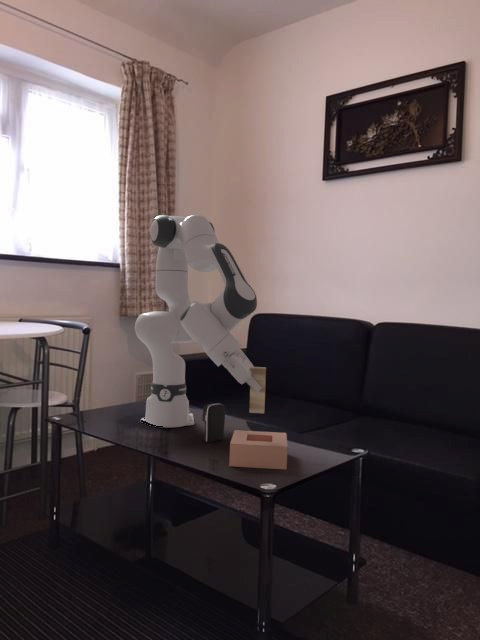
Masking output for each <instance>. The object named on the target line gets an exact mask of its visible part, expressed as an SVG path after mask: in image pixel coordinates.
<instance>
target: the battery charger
mask: <svg viewBox="0 0 480 640" xmlns="http://www.w3.org/2000/svg"><path fill="white" fill-rule="evenodd" d="M201 417H202V418H201V419H202V420H201V421H203V422H204V436H203V441H204V442H206V443H211V442H212V443H213V442H217V441H221V440H224V439H225V422H226V420H225V419H226V407H225V405H224V404H223V403H217V402H214V403H213V402H212V403H208V404H205V405H204V406H203V408H202V415H201Z"/></svg>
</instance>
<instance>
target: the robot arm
mask: <svg viewBox="0 0 480 640" xmlns="http://www.w3.org/2000/svg"><path fill="white" fill-rule="evenodd" d="M149 238H150V240H151V242H152V243H153V245H154V246H156V247H158V249H157V253H156V255H157V256H156V260H155V261H156V262H155V289H154V290H155V294H156V295H157V296H158V298H160V299H161V300H163V301H164V302H165V303H166V304H167V307H168V311H163V310H162V311H158V310H157V311H155V310H154V311H148V312H143V313H141V314H139V315H138V317H137V318H136V321H135V324H134V332H135V335H136V337H137V339H139V341H141V342H142V344H144V345H145V347H146V348H147V349H148V351H149V353H150V356H151V360H152V382H151V386H150V393H151V394H150V396H148V397H147V399H146V401H145V402H146V404H145V417H142V418H140V421H141V420H143V421H146V422H148V423H150V424H153V425H156V426H163V427H162V428H180V427H184V426H194V425H195V419H194V414H193V413H192V412H191V411H192V410H191V409H190V405H189V404H190V403H189V402H190V400H189V399H188V396H187V395H186V394H187V385H186V361H185V360H184V358H183V357H182V356H181V355H179V354H177V353H175V351H174V348H173V344H187V343H188V344H189V343H192V342H194V343H196V344H197V345H199V346H200V347H201V348H202V349H203V351H204V352H205V354H206V356H208V357H209V359H210V360H211V361H212V362H213V363H214V364H215V365H216V366H217V367H220V366H221V365H222V366H223V367H224V368H225V369H226V370H227V371H228V373H230V375H231V376H232V377H233V378H234V379H235V380H236V381H237V382H238V383H239V384H241V385H243V384H245V383H246V384H247V385H248V386H249V387H250V386H251V387H252V388H253V389H254V390H255V391H256V392H259V391H260V390H261V388H262V387H261V385H260V384H259V383H257V381H256V380H255V379H254V378H253V377H252V376H251V375H252V371H251V367H255V366H254V364H253V363H252V361H250V359H249V358H248V357H247V355H246V354H245V352H243V350H242V349H241V346H242V344H241V342H239V340H238V339H237V338H236V337H235V336H234V335H233V334H232V333H231V332H232V331H233V330H234V329H235V328H236V327H238V325H240V324H241V322H242V321H244V320H245V319H246V318H247V317H249V316H250V315H251V314H252V313H254V312H255V311H256V310H257V307H258V298H257V294H256V292H255V290H254V289H253V287H252V286H251V285H250V284H249V283H248V282H247V281H248V280H246V278H245V275H244V274H243V272H242V271H241V270H242V269H241V268H240V267H239V265H238V263H237V261H236V259H235V257H234V255H233V254H232V252H231V251H230V249H229V248H228V247H227V246H226V245H225V244H222V243H219V239H218V237H217V235H216V231H215V227H214V225H213V224H212V222H211V221H209V220H208V219H207V217H206V216H204V215H201V214H192V215H189V216H187V215H186V216H185V215H182V216H179V215H167V214H161V215H157V216H155V218H153V219H152V221H151V224H150V227H149ZM189 266H190V268H191V269H193V270H194V271H197V272H200V273H209V272H213V271H218V272H219V274H220V276H221V278H222V281H223V282H224V286H223V289H222V291H221V293H220V294H219V295H218V297H216V298H215V299H214V301H213V302H209V303H203V302H200V301H198V300H194V301H193V302H191V299H190V294H189V282H188V281H189V280H188V278H189ZM144 418H145V419H144ZM156 426H155V427H156Z"/></svg>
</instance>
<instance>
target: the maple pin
mask: <svg viewBox="0 0 480 640" xmlns="http://www.w3.org/2000/svg"><path fill="white" fill-rule="evenodd" d="M251 371H252V375H251V376H252V377H253V378H254V379H255V380H256V381H257V383H259V384H260V385H261V387H262V388H261V390H260V391H259V392H256V391H255V390H254V389H253V388H252V387H251V386H250V385H249V411H248V412H249V413H250V414H265V410H266V409H265V407H266V406H265V405H266V404H265V403H266V376H267V373H266V372H267V367H262V366H261V367H260V366H254V367H251Z"/></svg>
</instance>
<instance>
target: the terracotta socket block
mask: <svg viewBox="0 0 480 640" xmlns="http://www.w3.org/2000/svg"><path fill="white" fill-rule="evenodd" d="M228 462H229V463H228V466H229V467H238V468H239V467H240V468H252V469H253V468H255V469H270V470H271V469H272V470H274V469H275V470H287V468H288V467H287V466H288V437H287V432H275V431H274V432H273V431H258V430H257V431H256V430H255V431H254V430H237V429H235V430H234V431H233V434H232V436H231V439H230V443H229V461H228Z"/></svg>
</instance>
